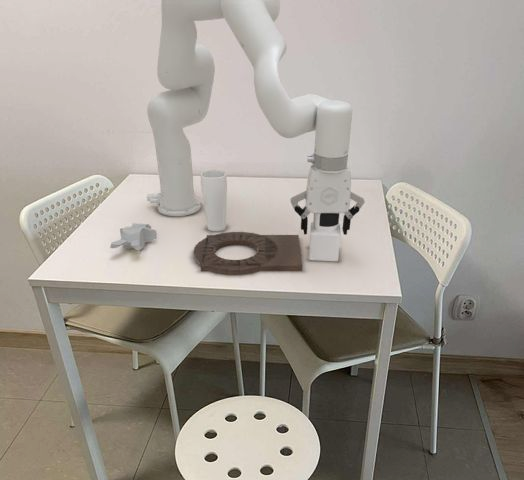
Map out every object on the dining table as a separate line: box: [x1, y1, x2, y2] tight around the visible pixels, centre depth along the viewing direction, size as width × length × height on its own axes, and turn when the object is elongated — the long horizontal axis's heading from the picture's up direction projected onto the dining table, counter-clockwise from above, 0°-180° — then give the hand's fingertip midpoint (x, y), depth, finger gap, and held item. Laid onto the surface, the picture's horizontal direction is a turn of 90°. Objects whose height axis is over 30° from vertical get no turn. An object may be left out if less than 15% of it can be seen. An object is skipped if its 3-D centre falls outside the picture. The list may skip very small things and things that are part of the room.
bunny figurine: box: [109, 222, 157, 251], centre depth 137 cm, size 10×5×15 cm
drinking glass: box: [200, 169, 228, 232], centre depth 142 cm, size 7×7×15 cm
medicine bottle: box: [308, 213, 342, 262], centre depth 130 cm, size 7×7×12 cm
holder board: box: [192, 231, 303, 276], centre depth 134 cm, size 26×21×2 cm
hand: (324, 232), depth 130 cm, fingers open, 9 cm apart
